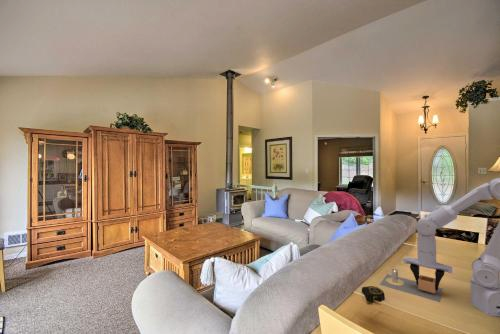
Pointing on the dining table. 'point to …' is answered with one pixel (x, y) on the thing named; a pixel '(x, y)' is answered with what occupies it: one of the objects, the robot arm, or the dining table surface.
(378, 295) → the tape measure
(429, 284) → the collar
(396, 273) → the steel post
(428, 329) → the dining table surface
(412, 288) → the seat plate
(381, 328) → the dining table surface
